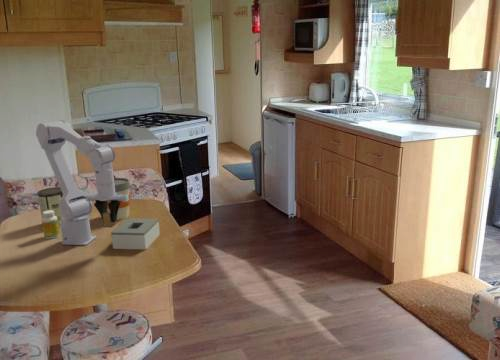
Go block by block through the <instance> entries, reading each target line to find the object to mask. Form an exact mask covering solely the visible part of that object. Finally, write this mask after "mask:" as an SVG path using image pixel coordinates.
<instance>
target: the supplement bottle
mask: <svg viewBox="0 0 500 360" xmlns="http://www.w3.org/2000/svg"><path fill="white" fill-rule="evenodd" d="M54 215H55V214H54V211H53V210H48V211H44V212H43V217H44V218H42V217H41V224H42V231H43V238H44V239H48V240H49V239H51V240H52V239H56V238H58V237H59V236H60V235H61V233H60V227H59V226H58V220H57V217H56V216H54Z"/></svg>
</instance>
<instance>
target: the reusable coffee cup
mask: <svg viewBox="0 0 500 360" xmlns="http://www.w3.org/2000/svg"><path fill="white" fill-rule="evenodd" d="M114 184H115V193H117V194H124V195H129V201H127V202H124V201H121V203H120V206H119V209H118V213H117V221H121V220H123V219H124V220H125V219H128V217H129V216H130V205H131V192H130V188H131V185H130V179H128V178H125V177H124V178H123V177H115V178H114ZM110 202H111V201H107V210H110V209H109V206H108V204H109V203H110Z"/></svg>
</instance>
